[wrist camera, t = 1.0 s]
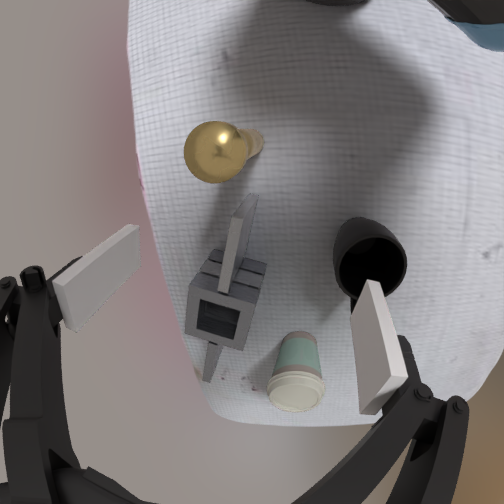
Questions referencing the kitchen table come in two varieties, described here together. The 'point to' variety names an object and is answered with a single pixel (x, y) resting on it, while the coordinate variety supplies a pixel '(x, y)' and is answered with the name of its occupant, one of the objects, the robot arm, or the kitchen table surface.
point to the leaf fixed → (236, 299)
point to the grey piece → (233, 261)
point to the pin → (220, 150)
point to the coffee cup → (297, 375)
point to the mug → (367, 258)
